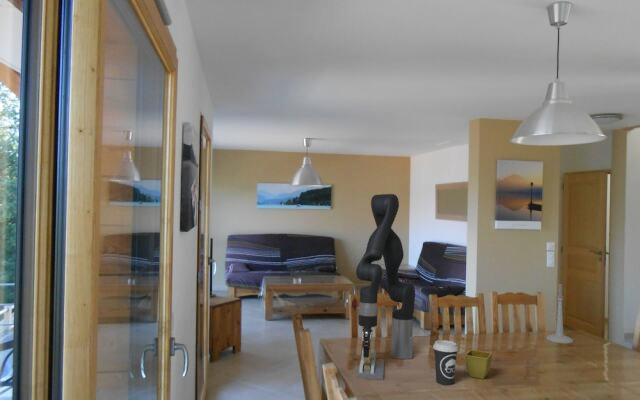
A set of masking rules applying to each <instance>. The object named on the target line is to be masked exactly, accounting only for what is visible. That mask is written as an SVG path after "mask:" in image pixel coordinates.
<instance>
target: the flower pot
mask: <svg viewBox="0 0 640 400" xmlns="http://www.w3.org/2000/svg"><path fill="white" fill-rule="evenodd" d="M464 357H465V358H464V361H465V367H466V370H467V372H468V374H469V376H470V377H472V378H476V379H480V380H481V379H482V380H483V379H485V378H486V377H487V375H488V373H490V372H489V371H490V369H491V366H492V365H491V364H492V359H493V353H492V352H486V351H481V350H475V349H470V350H469V351H468V352H466V354H465V355H464Z"/></svg>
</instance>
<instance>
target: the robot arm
mask: <svg viewBox="0 0 640 400" xmlns="http://www.w3.org/2000/svg"><path fill="white" fill-rule="evenodd" d="M399 201H400V200H399V198H398V196H397V195H396V194H394V193H385V194H384V193H383V194H374V195H373V196H372V197H371V201H370V208H371V212H372V215H373V219H374V222H375V227H376V228H375V229H374V230H373V232H372V233H371V235H369V239H368V240H367V245H366V248H365V252H364V254H363V256H362V258H361V259H360V261H359V262H358V264H357V266H356V271H355V274H356V277H357V279H358V280H360V281H364V282H371V283H370V285H368V286H362V287H361V288H360V289H359V305H358V323H357V324H358V325H359V326H360V327H363V328H362V330H361V334H362V337H361V338H362V340H361V341H362V350H363V357H366V358H368V357H369V349H371V343H372V340H373V329H372V328H375V327H377V326H378V311H379V310H378V293H379V292H378V291H379V287H380V284H381V281H382V278H383V274H384V271H383V268H382V266H381V264H377V263H374V262H378V261H380V260H381V259H382V258H383V262H384V267H385V274H386V281H387V292H388V296H389V299H390V300H391V301H392V302H395V303H400V304H401V307H400V308H398V309H394V310H393V311H392V313H391V314H392V315H391V347H390V348H391V349H390V354H391V355H390V356H391V357H392V358H394V359H398V360H408V359H409V360H410V359H413V339H414V338H413V328H414V327H413V323H414V321H413V319H414V311H415V302H416V301H415V300H416V289H415V286H414V284H413V283H411V282H404V281H400V279H399V270H400V266H401V265H402V262H403V259H404V249H403V244H402V243H403V242H402V240H401V238H400V237H399V235H398V234H397V232H395V231H394V230H393V228H392V226H393V225H394V222H395V219H396V217H397V214H398V211H399V207H400V202H399Z"/></svg>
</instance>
